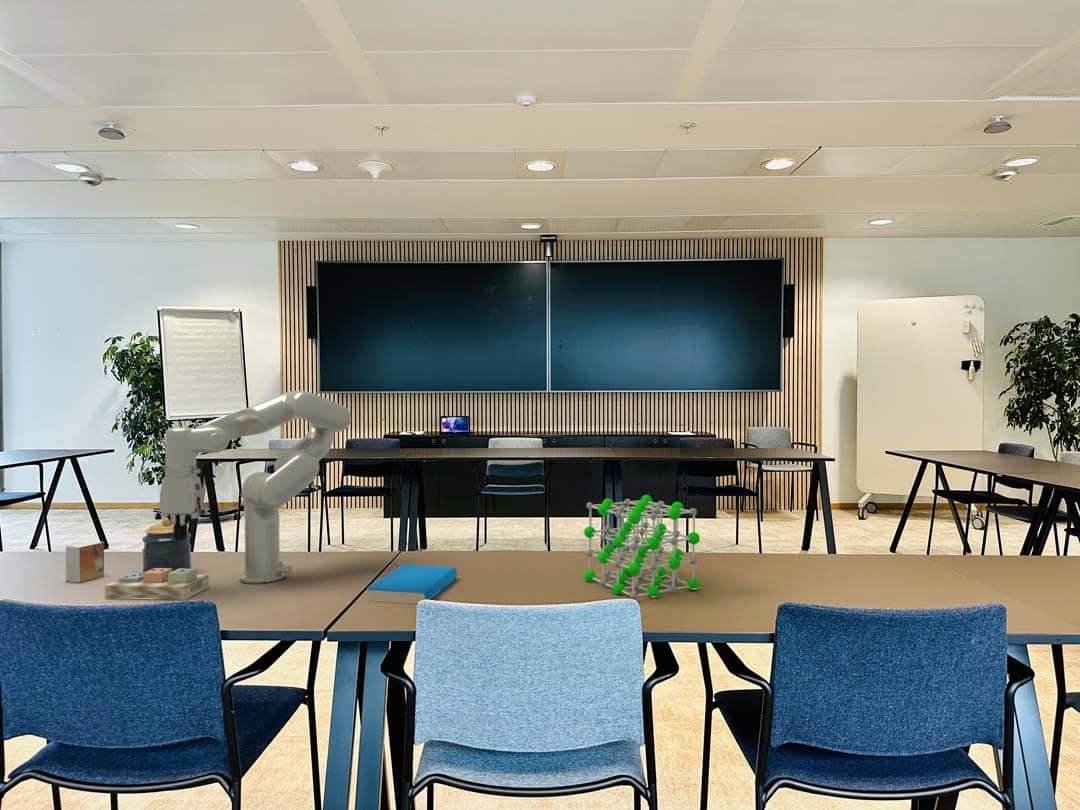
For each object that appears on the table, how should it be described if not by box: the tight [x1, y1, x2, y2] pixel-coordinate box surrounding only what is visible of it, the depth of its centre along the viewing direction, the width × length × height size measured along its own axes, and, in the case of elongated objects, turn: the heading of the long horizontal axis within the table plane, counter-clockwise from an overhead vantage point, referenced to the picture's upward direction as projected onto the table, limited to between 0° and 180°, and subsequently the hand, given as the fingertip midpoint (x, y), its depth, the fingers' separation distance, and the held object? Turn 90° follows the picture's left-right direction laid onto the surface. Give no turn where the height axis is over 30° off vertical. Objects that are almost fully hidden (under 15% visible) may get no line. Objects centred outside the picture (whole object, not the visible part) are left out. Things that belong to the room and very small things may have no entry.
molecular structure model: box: [583, 494, 701, 600], centre depth 195 cm, size 24×25×24 cm
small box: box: [65, 540, 105, 584], centre depth 201 cm, size 8×6×10 cm
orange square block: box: [144, 568, 172, 583], centre depth 188 cm, size 5×5×3 cm
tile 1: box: [168, 568, 197, 584], centre depth 187 cm, size 5×5×3 cm
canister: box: [141, 517, 192, 574], centre depth 205 cm, size 13×13×18 cm
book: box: [366, 564, 458, 603], centre depth 191 cm, size 17×4×25 cm
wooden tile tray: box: [104, 572, 210, 601], centre depth 188 cm, size 22×12×4 cm, turn 87°
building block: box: [118, 572, 144, 583], centre depth 188 cm, size 5×5×3 cm
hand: (180, 538), depth 187 cm, fingers closed
